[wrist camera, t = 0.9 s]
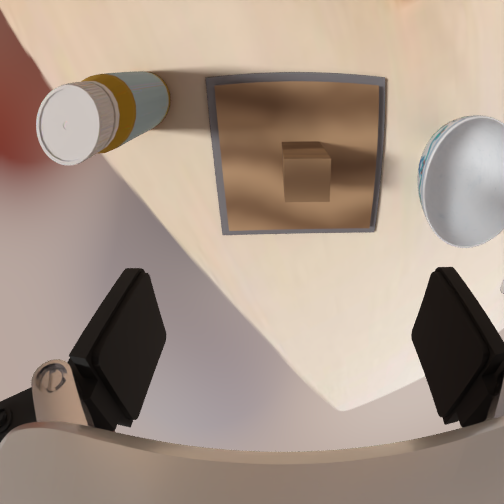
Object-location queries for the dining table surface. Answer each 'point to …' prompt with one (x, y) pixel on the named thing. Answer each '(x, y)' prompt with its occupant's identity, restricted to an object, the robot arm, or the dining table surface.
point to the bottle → (100, 114)
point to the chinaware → (464, 181)
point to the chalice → (502, 287)
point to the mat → (291, 77)
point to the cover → (298, 154)
